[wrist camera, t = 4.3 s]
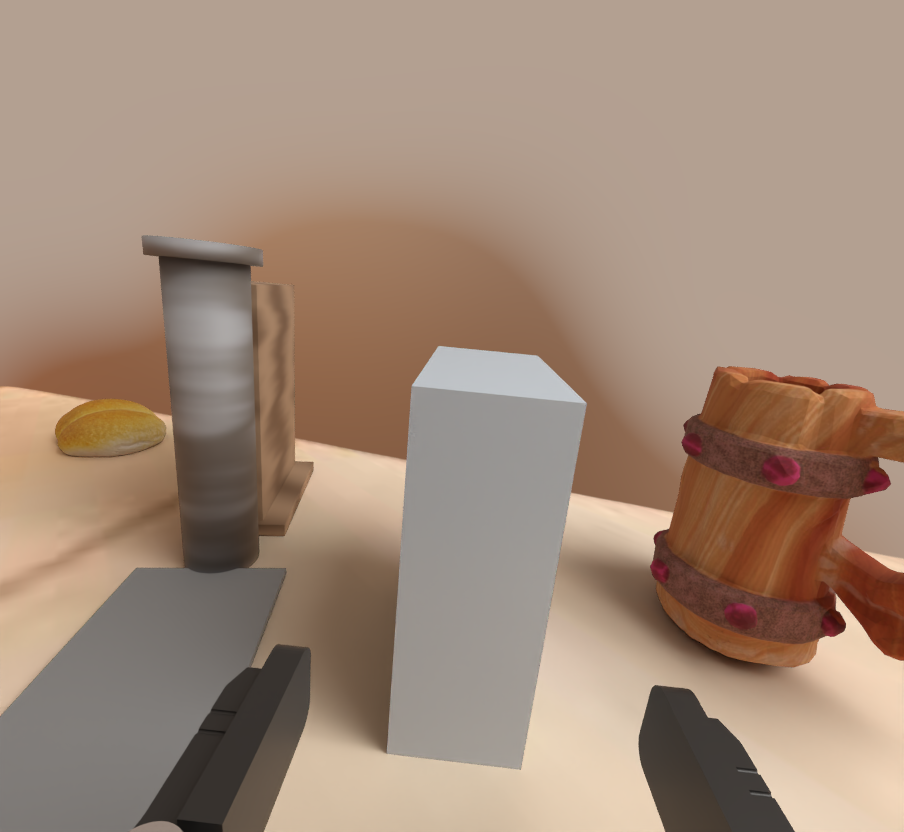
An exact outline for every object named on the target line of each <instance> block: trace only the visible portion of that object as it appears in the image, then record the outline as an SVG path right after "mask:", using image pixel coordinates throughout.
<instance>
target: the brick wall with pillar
mask: <svg viewBox="0 0 904 832" xmlns="http://www.w3.org/2000/svg"><path fill="white" fill-rule="evenodd" d="M142 245H143V254H144V255H151V256H159V266H160V278H161V290H162V301H163V314H164V326H165V338H166V350H167V362H168V373H169V386H170V397H171V410H172V422H173V434H174V446H175V458H176V470H177V482H178V494H179V506H180V518H181V530H182V542H183V554H184V566H185V568H189V569H190V570H192V571H195V572H199V573H208V574H211V573H222V572H227V571H231V570H234V569H237V568H248V567H249V566H251V565H252V564H253V563H254V562H255V561H256V560H257V558H258V556H259V535H269V536H285V534H286V531H287V529H288V527H289V525H290V522H291V520H292V518H293V516H294V513H295V511H296V509H297V506H298V504H299V502H300V500H301V497H302V495H303V493H304V491H305V488H306V486H307V484H308V481H309V479H310V477H311V475H312V472H313V462H297V461H295V400H294V397H295V392H294V391H295V387H294V386H295V385H294V383H295V382H294V285H286V284H276V283H265V282H254V281H251V268H250V266H260V267H262V266H263V251H262V250H261V249H256V248H251V247H245V246H239V245H232V244H224V243H217V242H209V241H201V240H192V239H183V238H173V237H162V236H142Z"/></svg>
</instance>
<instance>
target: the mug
mask: <svg viewBox="0 0 904 832" xmlns="http://www.w3.org/2000/svg"><path fill="white" fill-rule="evenodd" d="M684 430H685V436H684V438H683V440H682V446H683V448H684V450H685V452H686V453H687V454H688V458H687V460H686V463H685V466H684V469H683V473H682V476H681V482H680V488H679V494H678V499H677V502H676V506H675V510H674V513H673V517H672V521H671V525H670V528H669V529H667V530H663V531H659V532H657V533H656V534H655V535H654V543H655V545H656V546H655V552H654V558H653V561H652V564H651V566H650V568H651V571H652V575H653V577H654V578H655V580H657V584H656V591H657V594H658V597H659V600H660V602H661V604H662V607H663V608H664V610H665V612H666V613H667V614H668V615H669V616H670V617H671V618H672V619H673V620H674V622H675V623H676V624H677V625H678V626H679V627H680V628H681V629H682V630H684V631H685V632H686V633H687V634H688V635H689V636H690V637H691V638H693V639H695V640H697V641H699V642H701V643H702V644H704V645H705V646H707V647H708V648H710V649H712V650H714V651H717V652H719V653H721V654H723V655H725V656H728V657H732V658H735V659H739V660H743V661H749V662H755V663H761V664H767V665H773V666H785V667H796V666H799V665H802V664H806V663H809V662H810V660H811V659H812V658H813V657H814V656H815V654H816V650H817V642H818V641H819V639H820V638H822V637H825V636H830V637H834V636H836V635H838V634H840V633H842V632H844V630H845V628H846V623H845V621H844V619H843V617H842V615H841V614H840V612H838V611H836V594H837V595H838V597H839V598H840V599H841V600H842V602H843V603H844V604H845V605H846V607H847V608H848V609H849V610H850V611H851V613H852V614H853V615H854V616H855V618H856V619H857V620H858V621H859V623H860V624H861V625H862V626H863V628H864V630H865V631H866V633H867V634H868V636H869V637H870V639H871V640H872V642H873V643H874V644H875V645H876V646H877V647H878V648H879V649H880V650H881V651H882V652H883V653H884V654H885V655H887V656H890V657H892V658H895V659H897V660H902V661H904V573H900V572H896V571H893V570H891V569H889V568H887V567H886V566H884V565H883V564H881V563H880V562H878V561H877V560H875V559H874V558H872V557H871V556H869V555H868V554H866V553H865V552H864V551H862V550H861V549H859V548H858V547H857V546H855V545H854V544H852V543H851V542H850V541H848V540H847V539H846V538H845V537H844V536H842V530H843V526H844V522H845V518H846V514H847V510H848V506H849V502H850V499H851V498H853V497H859V496H862V495H866V494H870V493H874V492H878V491H882V490H886V489H887V488H888V487H889V486H890V484H891V483H890V480H889V477H888V475H887V474H886V472H885V471H884V470H883V469H881V468H880V467H879V461H878V457H879V458H884V459H889V460H894V461H899V462H904V412H903V411H896V410H888V409H882V408H878V407H877V406H876V404H875V399H874V395H873V393H871V392H869V391H868V390H867V389H865V388H862V387H858V386H852V385H847V384H834V385H830V386H829V385H828V384H827V383H826V382H825V381H824V380H821V379H817V378H810V377H793V376H790V375H789V376H785V377H777V376H776V375H774V374H773V373H772V372H769V371H764V370H760V369H755V368H743V367H732V366H729V367H727V368H724V367H717V368H716V370H715V372H714V376H713V379H712V382H711V385H710V388H709V391H708V394H707V398H706V401H705V404H704V407H703V410H702V413H701V414H697V415H695V416H692V417H691V418H690V419H689V420H687V421H686V422H685V424H684ZM835 593H836V594H835Z"/></svg>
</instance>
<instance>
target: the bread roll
mask: <svg viewBox="0 0 904 832" xmlns="http://www.w3.org/2000/svg"><path fill="white" fill-rule="evenodd" d="M165 434H166V426H165V423H164V422H163V421H162V420H161V419H159V418H158V417H157V416H156V415H155V414H154V413H153V412H152V411H151V410H149V409H147V408H146V407H144V406H142V405H140V404H138V403H135V402H132V401H126V400H120V399H100V400H94V401H89V402H86V403H84V404H82V405H79V406H77V407H75V408H74V409H72V410H71V411H70V412H68V413H67V414H65V415H64V416H63V417H62V418H61V419H60V420H59V421H58V423H57V425H56V429H55V435H56V438H57V439H58V446H59V448H60V449H61V450H62V451H63V452H64V453H66V454H68V455H70V456H79V457H112V456H120V455H127V454H131V453H135V452H139V451H142V450H145V449H147V448H149V447H152V446H154V445H156V444H158V443H160V442H161V441H162V440H163V439H164V437H165Z"/></svg>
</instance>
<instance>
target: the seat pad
mask: <svg viewBox="0 0 904 832" xmlns="http://www.w3.org/2000/svg"><path fill="white" fill-rule="evenodd" d="M285 575H286V568H237V569H234V570H231V571H227V572H222V573H211V574H208V573H199V572H195V571H192V570H190V569H189V568H136V569H135V570H134V571H133V572H132V573H131V574H130V575H129V577H128V578H127V579H126V580H125V581H124V582H123V583H122V584H121V585H120V586H119V587H118V589H117V590H116V591H115V592H114V593H113V594H112V595H111V596H110V597H109V598H108V599H107V601H106V602H105V603H104V604H103V605H102V606H101V607H100V608H99V609H98V610H97V611H96V613H95V614H94V615H93V616H92V617H91V618H90V619H89V620H88V621H87V622H86V623H85V625H84V626H83V627H82V628H81V629H80V630H79V631H78V632H77V633H76V634H75V635H74V637H73V638H72V639H71V640H70V641H69V642H68V643H67V644H66V645H65V646H64V647H63V649H62V650H61V651H60V652H59V653H58V654H57V655H56V656H55V657H54V658H53V659H52V661H51V662H50V663H49V664H48V665H47V666H46V667H45V668H44V669H43V670H42V671H41V673H40V674H39V675H38V676H37V677H36V678H35V679H34V680H33V681H32V682H31V683H30V685H29V686H28V687H27V688H26V689H25V690H24V691H23V692H22V693H21V694H20V696H19V697H18V698H17V699H16V700H15V701H14V702H13V703H12V704H11V705H10V706H9V708H8V709H7V710H6V711H5V712H4V713H3V714H2V715H1V716H0V832H128V831H130V830H132V829H133V828H134V827H135V826H136V824H137V823H138V822H139V821H140V820H141V818H142V817H143V815H144V814H145V812H146V811H147V809H148V808H149V806H150V805H151V803H152V801H153V800H154V798H155V797H156V795H157V794H158V792H159V790H160V789H161V787H162V786H163V784H164V782H165V781H166V779H167V778H168V776H169V775H170V773H171V771H172V770H173V768H174V767H175V765H176V764H177V762H178V760H179V759H180V757H181V756H182V754H183V752H184V751H185V749H186V748H187V746H188V745H189V743H190V741H191V740H192V738H193V737H194V735H195V734H197V733H198V730H199V727H200V726H201V724H202V722H203V721H204V719H205V718H206V716H207V715H208V714H210V712H211V708H212V707H213V705H214V704H215V702H216V700H217V699H218V697H219V696H220V694H221V692H222V691H223V689H224V688H225V686H226V685H227V684H228V683H229V682H231V681H232V680H233V679H234V678H235V677H236V676H238V675H239V674H240V673H241V672H242V671H243V670H245V669H246V668H247V667H250V668H251V665H252V662H253V660H254V657H255V654H256V652H257V649H258V646H259V644H260V641H261V639H262V636H263V633H264V631H265V628H266V625H267V623H268V620H269V617H270V615H271V612H272V609H273V607H274V604H275V601H276V599H277V596H278V593H279V591H280V588H281V585H282V583H283V580H284V577H285Z"/></svg>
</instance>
